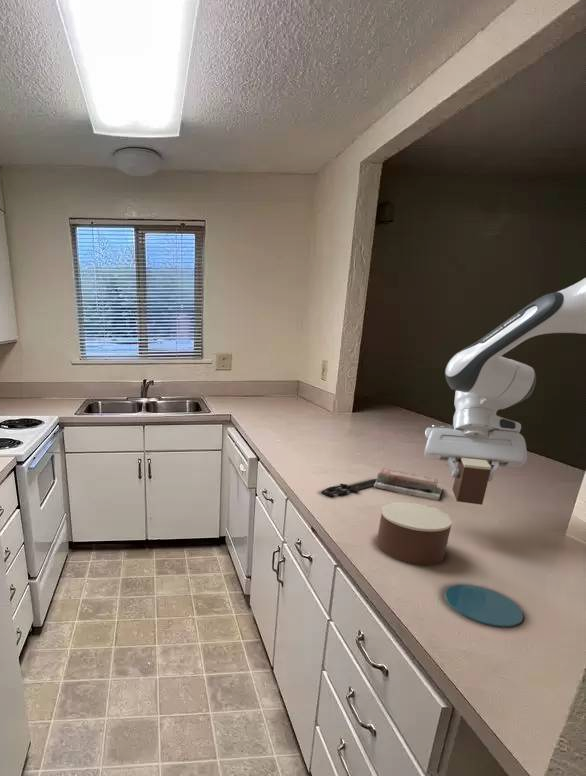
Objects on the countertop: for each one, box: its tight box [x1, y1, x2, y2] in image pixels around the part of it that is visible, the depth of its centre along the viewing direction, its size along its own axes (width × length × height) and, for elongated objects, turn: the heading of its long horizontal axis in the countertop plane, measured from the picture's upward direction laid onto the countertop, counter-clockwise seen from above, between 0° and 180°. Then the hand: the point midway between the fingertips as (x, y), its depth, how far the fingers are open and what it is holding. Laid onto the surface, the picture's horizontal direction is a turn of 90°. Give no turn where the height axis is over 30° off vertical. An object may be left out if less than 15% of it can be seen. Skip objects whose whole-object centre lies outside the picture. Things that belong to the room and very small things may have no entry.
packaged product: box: [373, 468, 443, 501], centre depth 133 cm, size 18×5×10 cm
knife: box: [320, 478, 377, 498], centre depth 135 cm, size 25×6×1 cm, turn 112°
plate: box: [444, 584, 524, 628], centre depth 80 cm, size 12×12×1 cm
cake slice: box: [452, 457, 491, 506], centre depth 101 cm, size 5×8×9 cm, turn 156°
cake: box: [376, 501, 453, 566], centre depth 99 cm, size 14×14×9 cm
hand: (471, 478), depth 100 cm, fingers closed on cake slice, 5 cm apart
